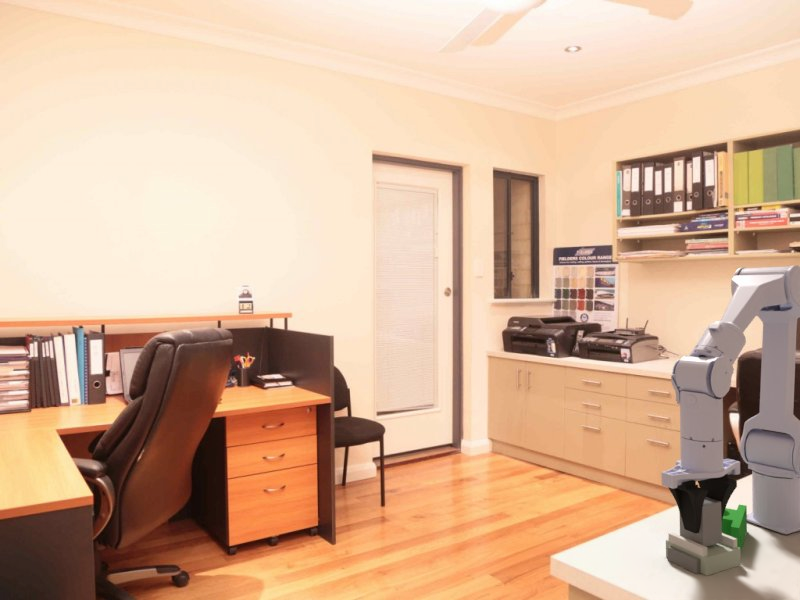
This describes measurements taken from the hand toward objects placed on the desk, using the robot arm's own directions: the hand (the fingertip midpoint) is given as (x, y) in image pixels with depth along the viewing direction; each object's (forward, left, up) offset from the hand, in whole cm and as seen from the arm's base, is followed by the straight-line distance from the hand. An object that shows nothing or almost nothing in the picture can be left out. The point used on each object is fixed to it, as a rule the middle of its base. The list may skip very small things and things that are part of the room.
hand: (702, 528), depth 91 cm
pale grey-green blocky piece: (0, 0, -5) cm, 5 cm away
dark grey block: (0, 0, -2) cm, 2 cm away
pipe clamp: (-10, -3, -5) cm, 12 cm away
